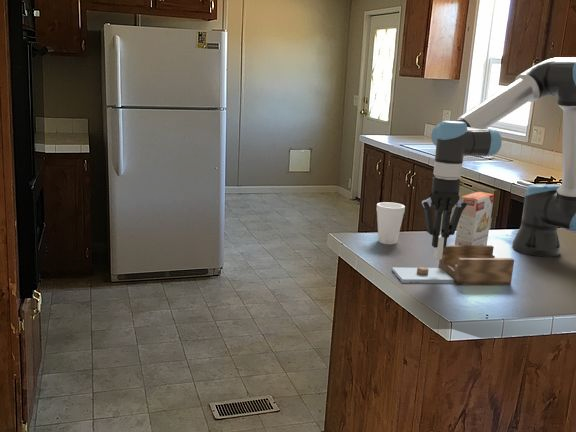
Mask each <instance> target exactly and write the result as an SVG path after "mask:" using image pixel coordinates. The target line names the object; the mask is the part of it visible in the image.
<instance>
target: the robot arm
mask: <svg viewBox="0 0 576 432" xmlns="http://www.w3.org/2000/svg"><path fill="white" fill-rule="evenodd" d="M550 96H552V97H557V106H558V107H559V108H560V109H561V110H562V150H561V151H562V152H561V153H562V156H561V157H562V159H561V162H562V163H561V165H562V166H561V184H553V183H552V184H549V183H548V184H547V183H546V184H545V183H544V184H543V183H542V184H541V183H540V184H535V183H534V184H529V185H528V186H527V187H526V190H525V194H524V199H523V208H522V216H521V221H520V222H521V223H520V227H519V229H518V231H517V233H516V234H515V237H514V239H513V240H512V245H511V246H512V249H513V250H515V251H517V252H518V253H519V252H520V253H522V254H527V255H529V256H536V257H546V258H547V257H550V258H551V257H556V256H559V255H560V253H561V244H560V240H559V234H558V228H561V229H564V230H566V231H569V232H572V233H573V234H575V233H576V57H575V56H574V57H573V56H572V57H569V56H568V57H565V56H564V57H561V56H558V57H553V58H548V59H545V60H543V61H540V62H539V63H537V64H534V65H533V66H530V68H528V69H526V70H524V71H523V72H522V73H519V74H518V75H517V76H516V77H515V79H514V81H513V82H512V83H510V84H508V85H507V86H506V87H504V88H503V89H501V90H499V91H498V92H496V93H494V94H493V95H491V96H489V97H488V98H487V99H485V100H483V101H482V102H481V103H479V104H477V105H475V106H474V107H472V108H471V109H470V110H468V111H466V112H465V113H462V115H460V116H458V117H457V118H455V119H454V120H442V121H440V123H437V124H436V125H435V126H434V127H433V128H432V130H431V135H430V136H431V137H430V138H431V141H432V144H433V145H434V146H435V155H434V156H435V158H434V164H433V165H434V166H433V175H434V176H433V177H432V180H431V181H432V184H431V192H430V194H429V197H428V198H427V199H424V200H421V201H420V203H421V206H422V208H423V212H424V213H423V214H424V221H425V227H426V233H428V234H429V235H431V236H432V239H431V240H432V241H431V246H432V247H433V256H432V257H433V258H434V259H436V260H439V259H442V253H443V248H445V247H446V245H448V244H447V242H448V238H450V236H454V235H455V234H456V231H457V225H458V222H459V219H460V217H461V214H462V211H463V210H464V208H465V207H466V206H467V204H466V203H465V202H463V201H461V197H460V195H459V192H460V189H461V187H460V186H461V179H460V178H461V177H462V169H463V162H464V157H466V156H468V157H469V156H471V157H472V156H473V157H477V156H478V157H487V156H495V155H496V154H498V153H499V152H500V150H501V147H502V141H503V139H502V136H501V134H500V132H499V131H497V130H496V129H491V128H490V127H491V126H493V125H494V124H496V123H497V122H499V121H500V120H502V119H503V118H505V117H507V116H508V115H510V114H511V113H513V112H514V111H516V110H517V109H519V108H521V107H522V106H523V105H525V104H527V103H528V102H529V103H532V102H533V103H534V102H536V101H537V100H539V99H540V98H541V99H542V98H544V97H550ZM432 206H433V209H434V213H433V214H434V215H433V216H434V217H433V216H432V209H431V207H432ZM453 208H454V210H453ZM452 212H453V214H452ZM451 215H452V216H451Z"/></svg>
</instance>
